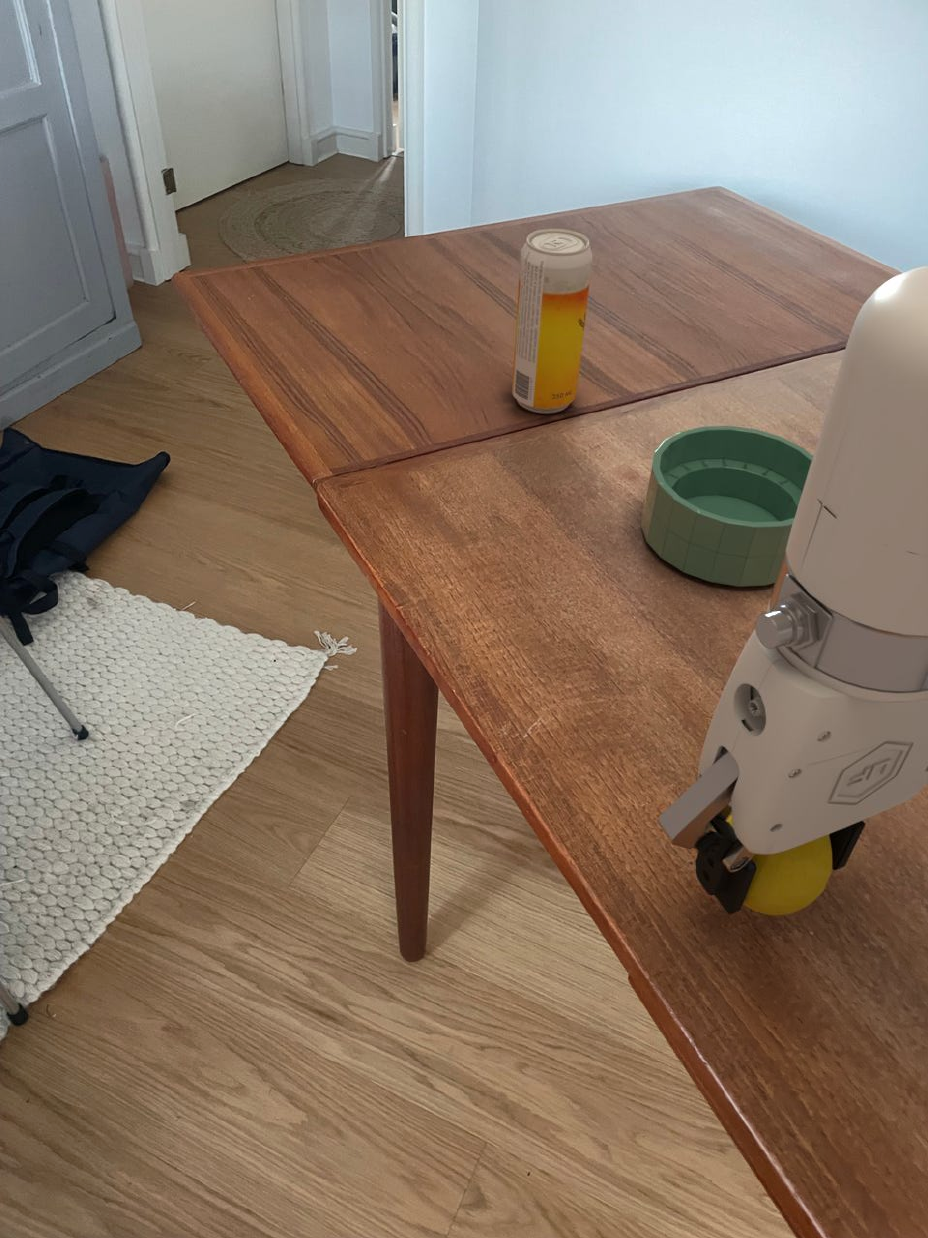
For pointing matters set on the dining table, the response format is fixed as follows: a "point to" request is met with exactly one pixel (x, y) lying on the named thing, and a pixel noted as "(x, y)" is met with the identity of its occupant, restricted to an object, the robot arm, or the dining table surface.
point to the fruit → (789, 877)
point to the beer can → (550, 319)
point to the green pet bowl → (724, 502)
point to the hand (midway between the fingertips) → (769, 865)
